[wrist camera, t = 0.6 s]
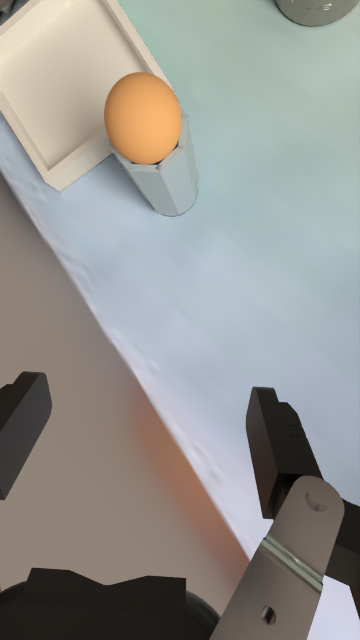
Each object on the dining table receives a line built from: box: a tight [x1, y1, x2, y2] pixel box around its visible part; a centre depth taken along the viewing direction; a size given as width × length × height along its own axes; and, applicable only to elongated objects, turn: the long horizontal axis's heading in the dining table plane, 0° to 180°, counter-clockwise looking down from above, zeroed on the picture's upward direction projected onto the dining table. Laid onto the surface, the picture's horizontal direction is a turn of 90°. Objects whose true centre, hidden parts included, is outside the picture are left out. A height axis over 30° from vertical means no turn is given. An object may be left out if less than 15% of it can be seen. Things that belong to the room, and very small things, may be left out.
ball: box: [104, 72, 182, 165], centre depth 21 cm, size 5×5×5 cm
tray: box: [0, 0, 172, 192], centre depth 33 cm, size 16×16×3 cm
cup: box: [109, 106, 198, 217], centre depth 28 cm, size 6×6×12 cm
